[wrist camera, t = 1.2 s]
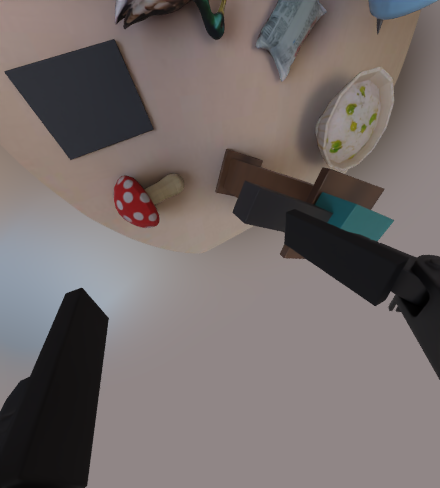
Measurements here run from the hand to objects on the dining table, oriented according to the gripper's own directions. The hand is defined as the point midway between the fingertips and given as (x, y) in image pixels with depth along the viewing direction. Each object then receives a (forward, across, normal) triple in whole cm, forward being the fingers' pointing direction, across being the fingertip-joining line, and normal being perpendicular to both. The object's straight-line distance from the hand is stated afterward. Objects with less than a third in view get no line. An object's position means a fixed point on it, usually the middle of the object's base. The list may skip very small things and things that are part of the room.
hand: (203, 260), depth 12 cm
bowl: (+32, +46, +2) cm, 56 cm away
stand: (+33, +20, -5) cm, 39 cm away
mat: (+34, -6, +13) cm, 37 cm away
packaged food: (+32, +32, +19) cm, 49 cm away
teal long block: (+5, +13, -3) cm, 14 cm away
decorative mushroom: (+35, -1, -4) cm, 35 cm away
